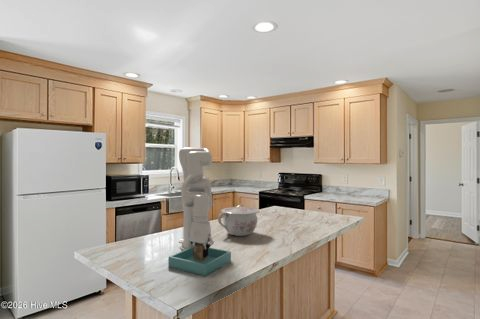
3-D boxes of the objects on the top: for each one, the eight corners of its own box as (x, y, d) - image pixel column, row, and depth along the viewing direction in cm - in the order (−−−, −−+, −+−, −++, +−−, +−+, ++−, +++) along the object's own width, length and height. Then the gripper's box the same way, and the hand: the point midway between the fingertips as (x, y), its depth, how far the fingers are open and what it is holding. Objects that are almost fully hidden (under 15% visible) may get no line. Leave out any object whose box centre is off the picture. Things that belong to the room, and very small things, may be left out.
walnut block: (193, 259, 142) (193, 245, 142) (199, 256, 147) (199, 242, 147) (201, 261, 140) (201, 246, 140) (207, 258, 144) (207, 244, 144)
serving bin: (168, 267, 139) (168, 256, 139) (196, 254, 158) (196, 245, 158) (205, 276, 128) (205, 265, 128) (230, 261, 148) (230, 251, 148)
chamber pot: (260, 230, 216) (260, 202, 216) (258, 240, 188) (259, 208, 188) (223, 228, 218) (223, 201, 218) (216, 238, 191) (217, 207, 191)
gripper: (182, 218, 144) (182, 254, 144) (211, 222, 136) (210, 261, 136) (192, 216, 151) (191, 250, 151) (219, 219, 142) (219, 256, 142)
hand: (200, 255), depth 143 cm, fingers open, 5 cm apart
